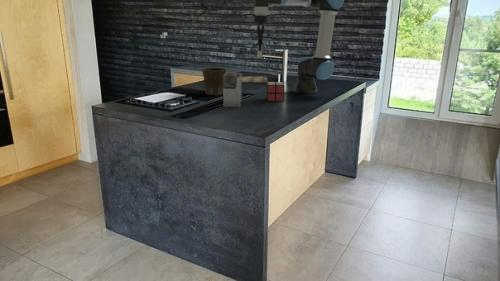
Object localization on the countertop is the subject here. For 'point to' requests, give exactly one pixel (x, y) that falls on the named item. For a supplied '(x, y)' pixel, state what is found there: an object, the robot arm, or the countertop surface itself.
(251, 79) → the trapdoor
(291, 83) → the countertop surface
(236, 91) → the bracket
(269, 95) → the puzzle cube
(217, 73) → the plant pot
